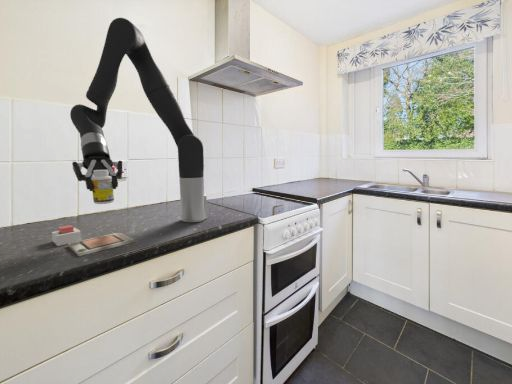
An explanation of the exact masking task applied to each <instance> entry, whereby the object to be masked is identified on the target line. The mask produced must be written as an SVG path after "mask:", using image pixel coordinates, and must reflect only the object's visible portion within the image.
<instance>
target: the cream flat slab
mask: <svg viewBox="0 0 512 384" xmlns="http://www.w3.org/2000/svg"><path fill="white" fill-rule="evenodd" d="M132 243H135V239H134V238H132V237H130V236H128V235H127V234H126V235H125V234H124V233H121V232H115V233H111V234H106V235H101V236H95V237H92V238H88V239H82V241H78V242H73V243H68V244H67V247H68V248H69V249H70V250H71V251H73V252H74V253H75V255H77V256H78V257H82V256H85V255H90V254H92V253H94V254H95V253H97V252H101V251H105V250H108V249H113V248H116V247H122V246H125V245H128V244H132Z"/></svg>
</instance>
